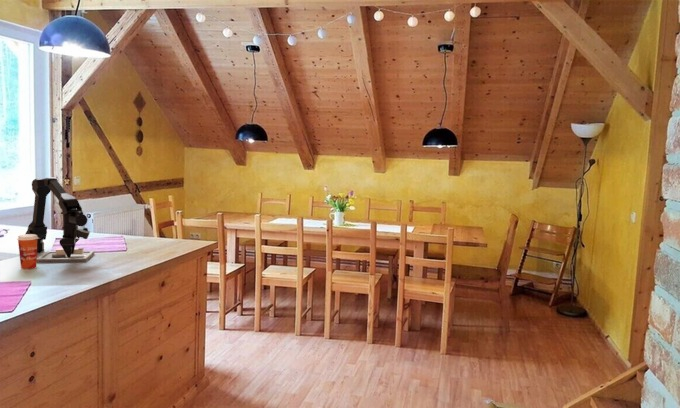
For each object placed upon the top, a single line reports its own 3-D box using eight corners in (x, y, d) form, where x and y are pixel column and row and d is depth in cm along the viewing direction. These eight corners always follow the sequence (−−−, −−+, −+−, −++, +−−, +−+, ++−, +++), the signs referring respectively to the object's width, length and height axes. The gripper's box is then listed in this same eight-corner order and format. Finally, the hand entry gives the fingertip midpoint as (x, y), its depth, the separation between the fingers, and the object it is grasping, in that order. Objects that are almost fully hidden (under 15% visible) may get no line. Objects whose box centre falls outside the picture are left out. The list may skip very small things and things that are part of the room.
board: (35, 262, 242) (35, 258, 242) (47, 254, 258) (47, 250, 258) (85, 261, 247) (85, 257, 247) (94, 254, 263) (94, 250, 263)
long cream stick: (50, 257, 247) (50, 249, 246) (53, 254, 252) (53, 247, 252) (81, 257, 250) (81, 249, 250) (84, 254, 256) (84, 246, 255)
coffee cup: (19, 270, 227) (18, 237, 226) (17, 266, 234) (15, 234, 232) (40, 268, 233) (39, 236, 231) (37, 264, 239) (36, 233, 237)
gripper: (85, 226, 238) (86, 259, 239) (90, 220, 255) (91, 251, 257) (58, 227, 234) (59, 260, 236) (66, 221, 252) (66, 251, 253)
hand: (70, 255), depth 246 cm, fingers open, 8 cm apart
